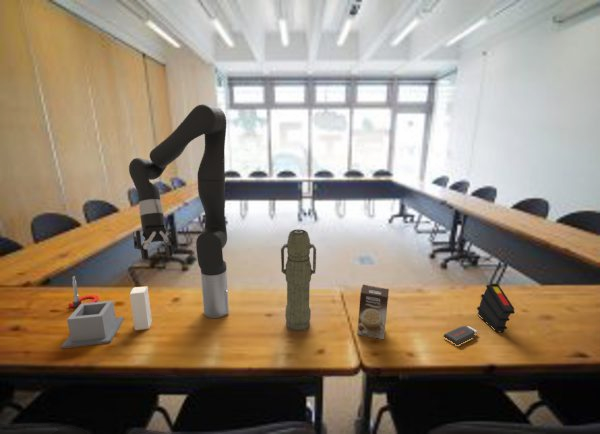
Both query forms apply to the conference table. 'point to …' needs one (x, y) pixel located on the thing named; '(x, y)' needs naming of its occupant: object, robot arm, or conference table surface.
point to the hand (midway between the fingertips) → (158, 258)
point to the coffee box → (372, 311)
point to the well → (92, 324)
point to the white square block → (140, 308)
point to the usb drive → (460, 334)
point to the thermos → (298, 279)
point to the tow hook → (78, 300)
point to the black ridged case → (495, 307)
